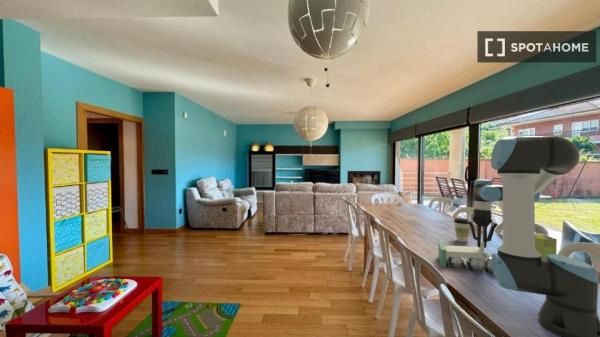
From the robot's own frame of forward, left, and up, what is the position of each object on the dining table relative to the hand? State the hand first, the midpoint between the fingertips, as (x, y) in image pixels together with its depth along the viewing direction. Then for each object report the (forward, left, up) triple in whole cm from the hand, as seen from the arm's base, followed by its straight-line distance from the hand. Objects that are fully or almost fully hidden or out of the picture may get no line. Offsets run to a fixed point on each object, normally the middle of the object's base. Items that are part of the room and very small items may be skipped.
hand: (481, 253), depth 132 cm
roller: (0, +9, -6) cm, 11 cm away
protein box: (+17, -27, -8) cm, 32 cm away
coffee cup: (+48, +1, -8) cm, 49 cm away
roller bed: (0, -5, -7) cm, 9 cm away
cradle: (0, +11, -7) cm, 14 cm away
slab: (0, +9, -2) cm, 9 cm away
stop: (0, +18, -7) cm, 20 cm away
